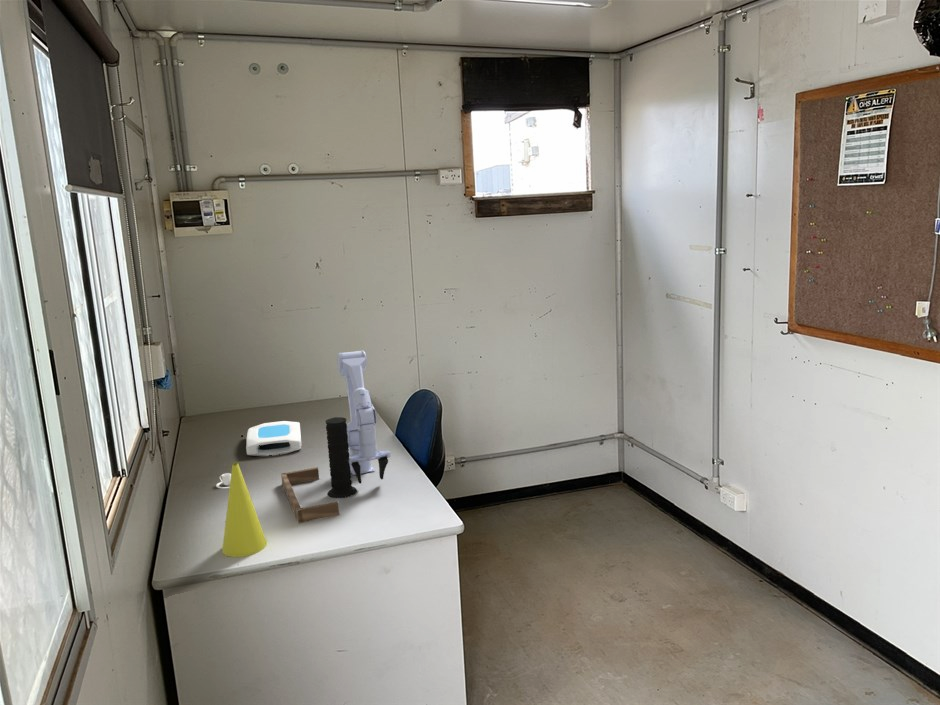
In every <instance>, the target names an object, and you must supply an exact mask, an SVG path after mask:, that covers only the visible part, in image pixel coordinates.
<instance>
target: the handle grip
mask: <svg viewBox="0 0 940 705" xmlns="http://www.w3.org/2000/svg"><path fill="white" fill-rule="evenodd" d="M346 422H347V418H345V417H340V416H339V417H337V416H336V417H331V418H328V419H327V418H326V420H325V424H326V426H325V429H326V435H327V436H326V440H327V449H328V450H327V451H328V462H329V473H330V475H329V476H330V481H331V482H330V484H331V489H329V490H328V491H327V494H326V495H327V497H329V498H332V499H346V498H350V497H353V496H354V495H356V494H357V493H358V489H357V488H356V487H355V486H353V485H352V484H353V483H352V475H351V474H352V473H351V471H350V465H349V460H350V458H349V449H350V448H348V447H349V444H348V434H347V424H348V423H346Z"/></svg>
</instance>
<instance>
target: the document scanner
mask: <svg viewBox="0 0 940 705" xmlns="http://www.w3.org/2000/svg"><path fill="white" fill-rule="evenodd" d="M301 434H302V433H301V423H300V422H299V421H288V420H282V421H281V420H280V421H273V422H272V421H271V422H264V423H261V424H258V425H255V426H252V427H251V426H250V428H248V429H247V434H246V446H245V450H246V455H247V456H253V457H255V456H256V457H270V456H269V455H272V456H280V455H287V454H290V453H292V452H296V451H298V450H301V449H302V447H303V446H302V436H301ZM280 443H281V444H282V443H288V444H289V446H287V447H286V446H285V447H280V448H279V447H278V448H271V449H260V446H264V445H270V444H280ZM259 445H260V446H259ZM301 446H302V447H301ZM279 454H280V455H279Z"/></svg>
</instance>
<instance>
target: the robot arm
mask: <svg viewBox="0 0 940 705" xmlns="http://www.w3.org/2000/svg"><path fill="white" fill-rule="evenodd" d="M336 358H337V359H336V362H337V370H338V374H339V376H341V377H344V379H345V382H346V390H347V399H348V407H349V415H350V418H349V419H350V421H349V422H348V423H346V424H347V434H348V444H349V447H348V449H349V451H348V452H349V458H350V460H349V465H350V471H351V474H352V475H353V476H356V479H357V482H358V484H362V477H361V474H366V473H372V472H375V469H374V467H373V465H372V461H374V460H378V461H377V462H378V470H379V472H378V473H379V478H380V480H384V475H385V470H386V468H387V465H388V463H389V458H391V451H389V450H380V451H378V448H377V447H378V446H377V435H376V426H375V425H376V424H377V413H376V412H377V411H376V409H375V407H374V404H373V403H372V399H371V396H370V392H369V390H368V389H366V388H365V383H364V382H365V381H364V375H363V374H364V373H365V370H366V368H367V364H368V361H367V354H366V352H365V350H363V349H362V350H355V351H348V352H338V353H337V356H336Z"/></svg>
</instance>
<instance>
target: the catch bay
mask: <svg viewBox="0 0 940 705" xmlns="http://www.w3.org/2000/svg"><path fill="white" fill-rule="evenodd" d="M319 472H320V471H319V468H318V466H317V467H311V468H306V469H300V470H294V471H287V472H283V473H282V472H281V474H280V476H281V484H282V486H283V490H284V492H285V494H286V496H287V500H288V502H289V504H290V506H291V509H292V511H293V514H294V516H295V519H296V521H297V524H300V523H304V522H305V523H306V522H311V521H315V520H320V519H325V518H331V517H336V516H339V515H340V509H339V508H340V507H339V502H338V501H332V502H327V503H322V504H316V505H311V506H307V507H306V506H305V507H301V505H300V503H299V500H298V497H297V496H296V493H295V492H294V488H293V487H292V485H294V484H300V483H306V482H311V481H316V480H320V473H319Z"/></svg>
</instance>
